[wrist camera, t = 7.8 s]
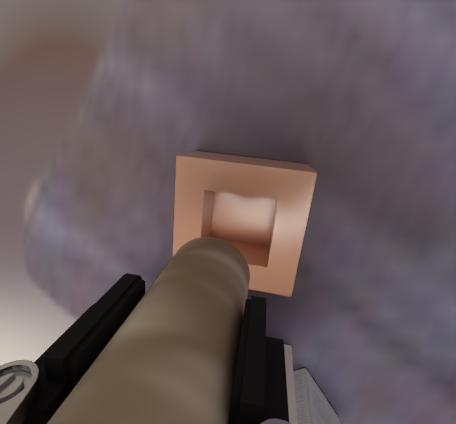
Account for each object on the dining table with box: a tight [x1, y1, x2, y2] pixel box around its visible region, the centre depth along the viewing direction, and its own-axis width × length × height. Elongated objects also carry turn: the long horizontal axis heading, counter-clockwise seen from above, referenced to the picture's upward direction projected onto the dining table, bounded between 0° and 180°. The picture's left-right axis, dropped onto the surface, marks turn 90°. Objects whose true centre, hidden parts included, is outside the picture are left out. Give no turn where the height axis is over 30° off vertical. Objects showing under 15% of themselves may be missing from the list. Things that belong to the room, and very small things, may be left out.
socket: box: [173, 151, 317, 297], centre depth 22 cm, size 10×10×5 cm
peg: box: [47, 237, 250, 424], centre depth 7 cm, size 4×4×12 cm
